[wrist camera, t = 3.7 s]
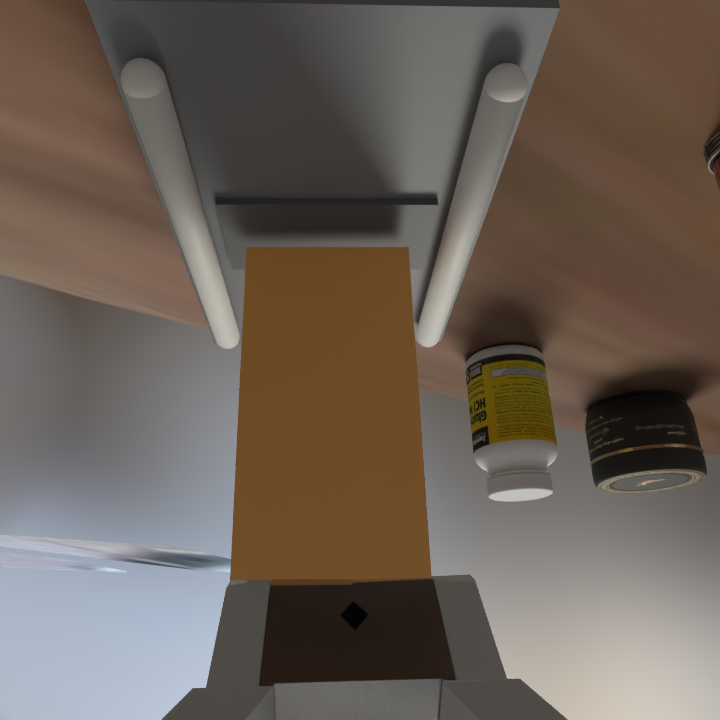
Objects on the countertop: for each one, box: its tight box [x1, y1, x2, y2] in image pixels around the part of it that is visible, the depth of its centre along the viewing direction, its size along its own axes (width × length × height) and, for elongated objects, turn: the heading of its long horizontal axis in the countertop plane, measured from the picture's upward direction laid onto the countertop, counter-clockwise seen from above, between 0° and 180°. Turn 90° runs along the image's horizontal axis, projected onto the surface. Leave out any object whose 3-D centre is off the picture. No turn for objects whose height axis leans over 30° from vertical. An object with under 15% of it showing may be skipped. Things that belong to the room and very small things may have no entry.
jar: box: [585, 390, 707, 493], centre depth 63 cm, size 10×10×8 cm
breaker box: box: [85, 0, 560, 349], centre depth 27 cm, size 12×20×7 cm, turn 178°
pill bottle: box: [466, 345, 557, 501], centre depth 50 cm, size 6×6×11 cm
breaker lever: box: [230, 247, 431, 581], centre depth 23 cm, size 6×2×12 cm, turn 88°
